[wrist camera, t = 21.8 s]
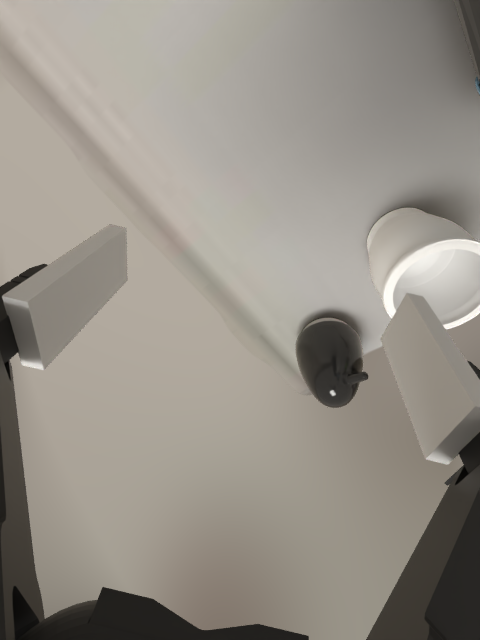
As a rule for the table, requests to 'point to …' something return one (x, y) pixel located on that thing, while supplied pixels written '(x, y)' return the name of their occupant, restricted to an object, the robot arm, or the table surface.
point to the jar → (425, 264)
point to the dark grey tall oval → (331, 361)
